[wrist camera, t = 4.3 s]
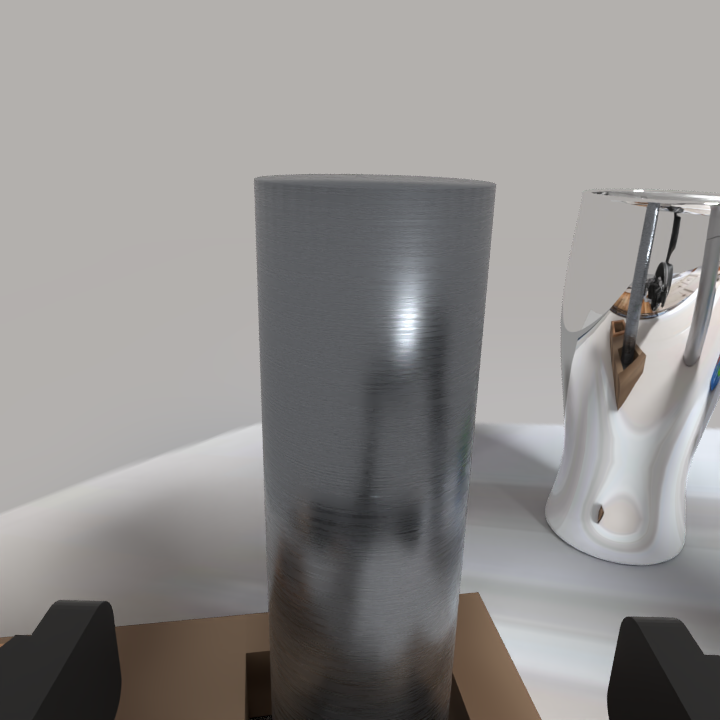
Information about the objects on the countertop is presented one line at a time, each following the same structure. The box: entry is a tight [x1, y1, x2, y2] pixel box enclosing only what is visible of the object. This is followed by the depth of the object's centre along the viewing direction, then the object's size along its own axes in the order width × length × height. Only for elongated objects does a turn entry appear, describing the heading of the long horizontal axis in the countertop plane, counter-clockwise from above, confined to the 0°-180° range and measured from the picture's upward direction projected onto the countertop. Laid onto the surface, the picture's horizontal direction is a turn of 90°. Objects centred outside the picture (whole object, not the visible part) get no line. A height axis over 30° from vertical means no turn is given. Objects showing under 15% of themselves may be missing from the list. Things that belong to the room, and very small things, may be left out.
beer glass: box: [545, 189, 720, 565], centre depth 27 cm, size 7×7×15 cm
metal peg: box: [254, 174, 496, 720], centre depth 14 cm, size 4×4×16 cm
